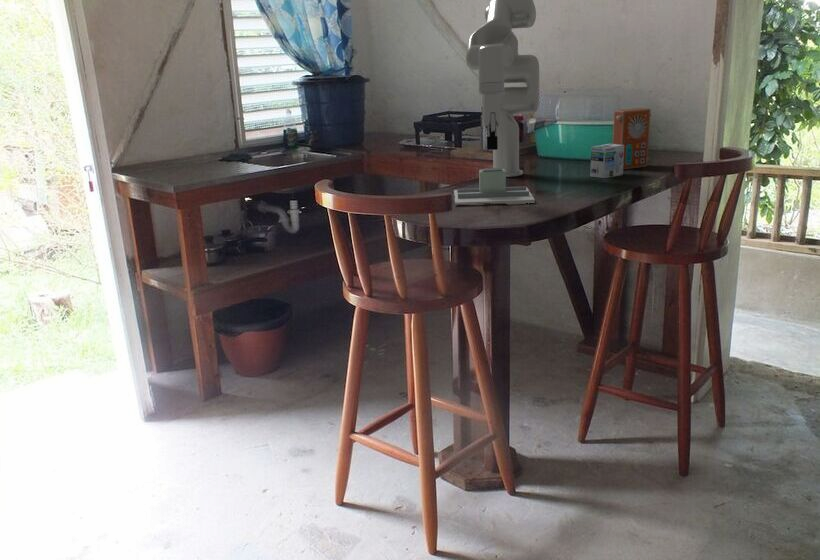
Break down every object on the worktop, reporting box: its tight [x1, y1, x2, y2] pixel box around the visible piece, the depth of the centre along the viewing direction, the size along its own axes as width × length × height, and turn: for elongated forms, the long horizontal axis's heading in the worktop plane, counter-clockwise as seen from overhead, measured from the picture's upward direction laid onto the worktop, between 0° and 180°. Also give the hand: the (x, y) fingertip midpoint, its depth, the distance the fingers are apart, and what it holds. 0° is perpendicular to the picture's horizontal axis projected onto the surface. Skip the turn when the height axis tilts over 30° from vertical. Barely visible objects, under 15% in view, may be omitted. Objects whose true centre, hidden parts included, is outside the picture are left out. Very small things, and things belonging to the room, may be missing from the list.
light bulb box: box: [589, 143, 624, 179], centre depth 246 cm, size 11×7×11 cm, turn 126°
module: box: [478, 167, 507, 193], centre depth 218 cm, size 5×8×7 cm, turn 87°
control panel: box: [612, 107, 652, 170], centre depth 259 cm, size 21×7×15 cm
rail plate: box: [453, 185, 536, 205], centre depth 219 cm, size 20×24×3 cm
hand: (492, 149), depth 215 cm, fingers closed
